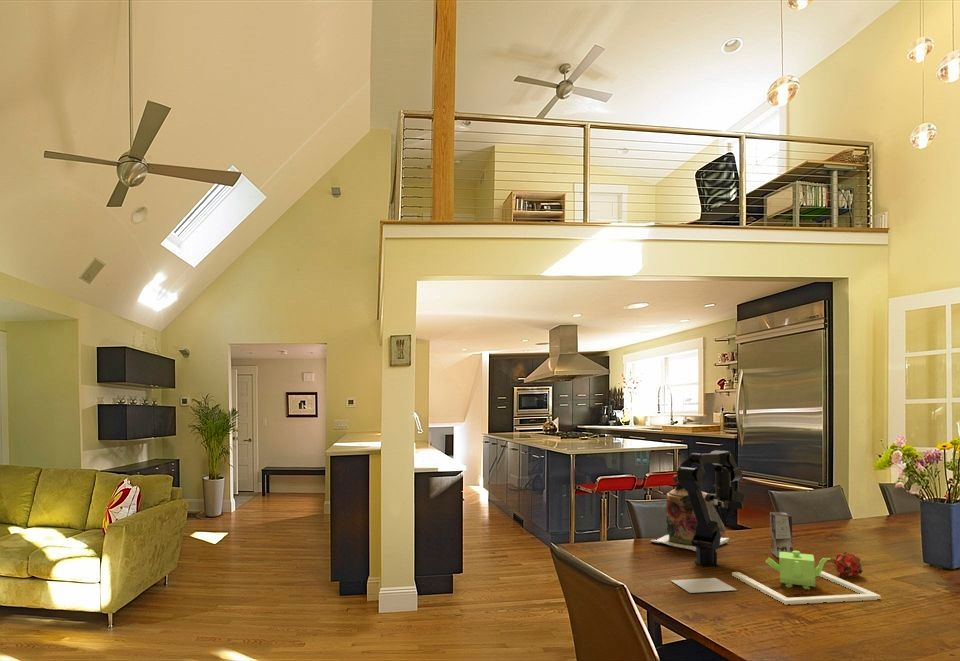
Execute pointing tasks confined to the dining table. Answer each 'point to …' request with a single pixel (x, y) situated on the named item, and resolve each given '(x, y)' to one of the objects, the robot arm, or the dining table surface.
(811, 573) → the kettle
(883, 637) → the dining table surface
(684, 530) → the cookie jar
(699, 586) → the paper stack
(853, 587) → the kettle dock outline
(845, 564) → the dragon fruit
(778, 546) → the coffee box
